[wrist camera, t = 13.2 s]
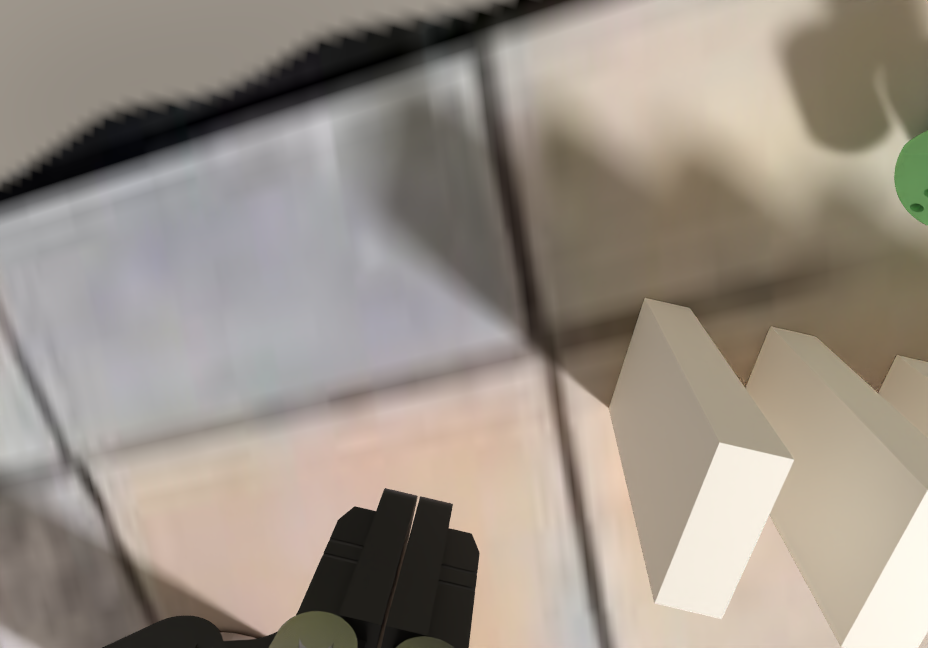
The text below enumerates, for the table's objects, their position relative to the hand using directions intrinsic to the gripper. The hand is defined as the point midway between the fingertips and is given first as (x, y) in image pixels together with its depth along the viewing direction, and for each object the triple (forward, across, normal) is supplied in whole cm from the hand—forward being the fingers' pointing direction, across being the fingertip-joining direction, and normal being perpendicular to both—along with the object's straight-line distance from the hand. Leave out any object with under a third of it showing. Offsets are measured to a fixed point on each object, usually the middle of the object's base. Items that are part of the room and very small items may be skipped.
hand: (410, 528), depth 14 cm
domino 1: (+14, -8, 0) cm, 16 cm away
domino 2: (+14, -12, 0) cm, 18 cm away
